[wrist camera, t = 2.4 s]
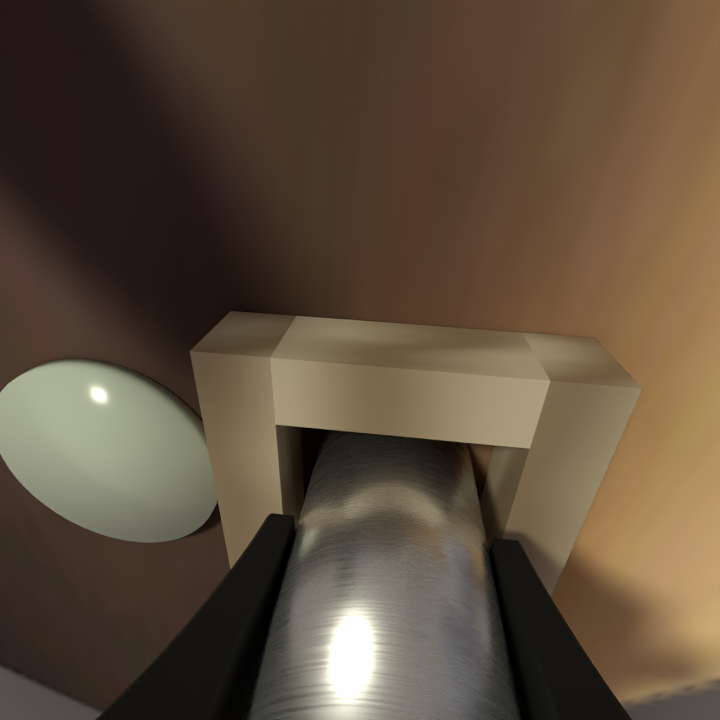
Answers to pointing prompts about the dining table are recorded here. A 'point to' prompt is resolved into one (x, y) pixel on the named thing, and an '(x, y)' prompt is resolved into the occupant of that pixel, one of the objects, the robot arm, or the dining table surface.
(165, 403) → the coaster
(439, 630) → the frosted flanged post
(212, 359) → the collar
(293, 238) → the dining table surface
